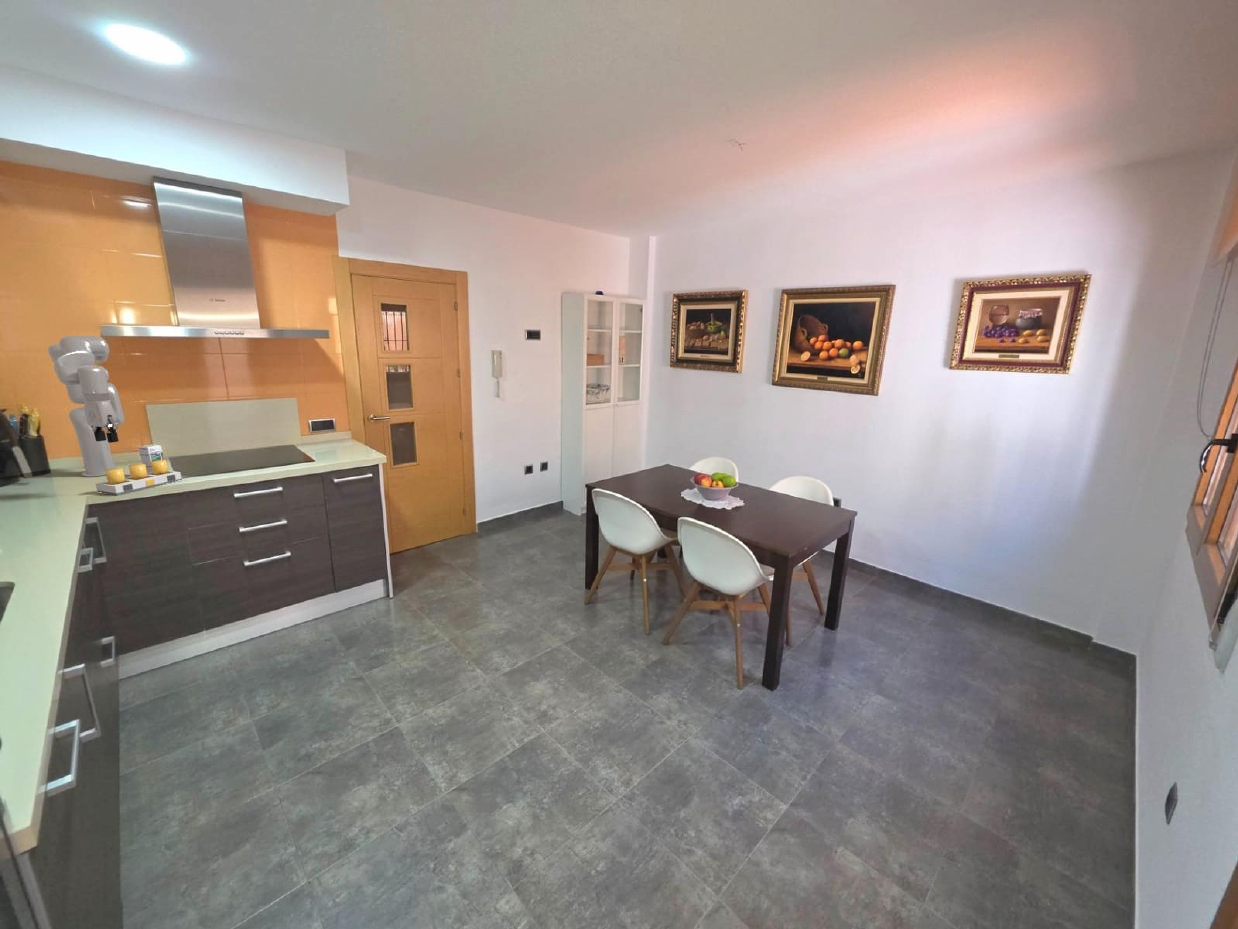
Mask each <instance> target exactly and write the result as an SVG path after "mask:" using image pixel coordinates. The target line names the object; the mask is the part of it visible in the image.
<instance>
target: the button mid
mask: <svg viewBox="0 0 1238 929" xmlns="http://www.w3.org/2000/svg"><path fill="white" fill-rule="evenodd" d="M128 469H129V474H130V476H131V479H132V480H140V479H144V478H148V475H147V470H146V466H145V464H142V463H137V464H136V463H135V464H130V465H128Z"/></svg>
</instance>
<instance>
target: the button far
mask: <svg viewBox="0 0 1238 929" xmlns="http://www.w3.org/2000/svg"><path fill="white" fill-rule="evenodd" d="M150 463H151V467H152V472H153V475H157V476H158V475H163V474H168V473H169V472H168V471H169V467H168V463H167V460H166V459H164V460H156V461H152V462H150Z"/></svg>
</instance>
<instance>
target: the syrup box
mask: <svg viewBox="0 0 1238 929" xmlns="http://www.w3.org/2000/svg"><path fill="white" fill-rule="evenodd" d="M137 448H138V453H139V456H140V460H141V464H145V466H146V470H147V473H149V472H152V467H151V463H150V462H152V461H156V460H165V458H164V454H163V453H164V452H163V448H162V444H148V445H143V446H139V447H137Z"/></svg>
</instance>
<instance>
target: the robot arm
mask: <svg viewBox="0 0 1238 929" xmlns="http://www.w3.org/2000/svg"><path fill="white" fill-rule="evenodd" d="M58 342H59V343H58V344H57V343H56V344H52V345H50V346H49V347H48V354H49V357H50V359H51V360H52V362H53V365H54V366H53V367H54V372H55V374H56V376H57V379H58V380H59V382H60V383H61V384H63V385H65V388H66V391H67V394H68V395H67V396H68V397H69V400H70V401H71V402H72V403H73V404H75V405H76V404H77V405H84V407H82V406H81V407H76V408H74V409H71V410H70V411H69V412H68V417H69V420H70V421H71V424H72V426H73V428H74V431H75V434H76V437H77V441H78V444H79V448H80V449H79V450H80V453H81V456H82V461H83V464H84V465H83V468H84V470H85V471H83V472H82V473H81V476H82V477H89V478H91V477H92V478H93V477H101V476H102V477H103V476H106V472H105V470H109V469H115V468H116V467H115V463H114V459H113V455H112V451H111V445H110V444H111V443H119V437H118V436H119V435H118V426H120V425H123V424H124V423H125V414H124V411H123V407H122V403H121V399H120V396H119V395H120V394H119V391H118V390H117V387H116V386H115V385H114V384H113V383H111V382H108V380H110V374H109V371H108V369H106V368H105V367H104V366H101V365H95V364H102V363H105V362H107V360H108V358H109V355H110V346H109V344H108V343H107V341H106V340H105V339H104V338H103V337H101V336H98V335H97V336H96V335H68V336H64V337H62V338H61V339H60V340H59V341H58ZM105 431H106V432H105Z"/></svg>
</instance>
